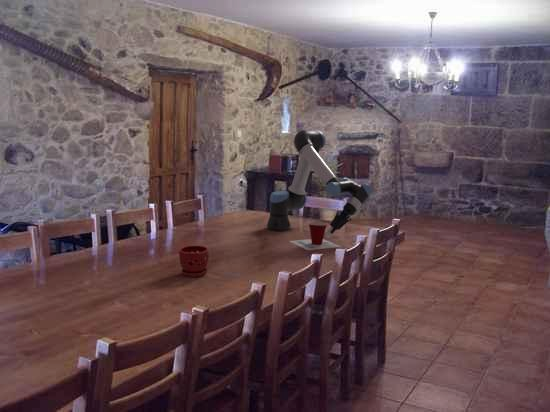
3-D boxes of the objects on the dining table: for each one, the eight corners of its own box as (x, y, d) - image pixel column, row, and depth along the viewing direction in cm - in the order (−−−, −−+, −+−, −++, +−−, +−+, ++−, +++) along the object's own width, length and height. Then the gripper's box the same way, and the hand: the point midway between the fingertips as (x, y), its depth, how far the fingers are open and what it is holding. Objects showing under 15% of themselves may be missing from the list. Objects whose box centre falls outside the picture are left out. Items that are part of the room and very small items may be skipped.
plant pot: (183, 269, 266) (183, 244, 264) (211, 271, 265) (211, 245, 263) (175, 277, 253) (175, 251, 251) (205, 279, 252) (205, 252, 250)
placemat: (288, 241, 329) (288, 240, 329) (321, 238, 339) (321, 238, 339) (307, 250, 310) (307, 249, 310) (341, 246, 319) (341, 246, 319)
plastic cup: (327, 242, 329) (328, 221, 327) (325, 246, 319) (326, 225, 317) (308, 240, 331) (309, 220, 329) (306, 244, 320) (307, 223, 318)
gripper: (362, 212, 326) (336, 243, 322) (349, 208, 338) (324, 238, 333) (354, 203, 323) (328, 235, 319) (342, 200, 335) (316, 230, 330)
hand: (326, 236), depth 326 cm, fingers closed
